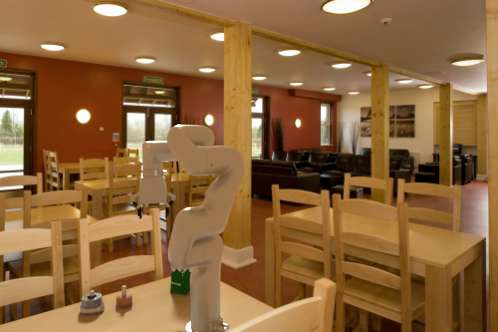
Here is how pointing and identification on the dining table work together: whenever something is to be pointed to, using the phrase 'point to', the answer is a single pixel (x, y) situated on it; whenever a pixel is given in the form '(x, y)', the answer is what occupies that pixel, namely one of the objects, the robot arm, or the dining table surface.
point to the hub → (92, 311)
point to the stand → (124, 299)
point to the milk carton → (180, 280)
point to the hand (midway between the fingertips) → (153, 217)
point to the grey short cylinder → (91, 301)
